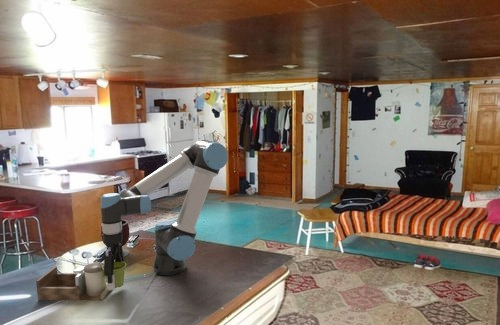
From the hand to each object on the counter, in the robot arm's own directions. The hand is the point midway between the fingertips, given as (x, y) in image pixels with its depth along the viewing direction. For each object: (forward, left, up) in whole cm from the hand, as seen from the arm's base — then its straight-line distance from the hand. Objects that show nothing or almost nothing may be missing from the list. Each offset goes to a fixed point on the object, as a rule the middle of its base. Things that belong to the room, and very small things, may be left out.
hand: (115, 284), depth 164 cm
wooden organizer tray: (+16, 0, -4) cm, 17 cm away
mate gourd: (+17, -44, -5) cm, 47 cm away
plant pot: (0, 0, 0) cm, 0 cm away
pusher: (+14, 0, -3) cm, 15 cm away
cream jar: (+8, -1, -3) cm, 9 cm away
